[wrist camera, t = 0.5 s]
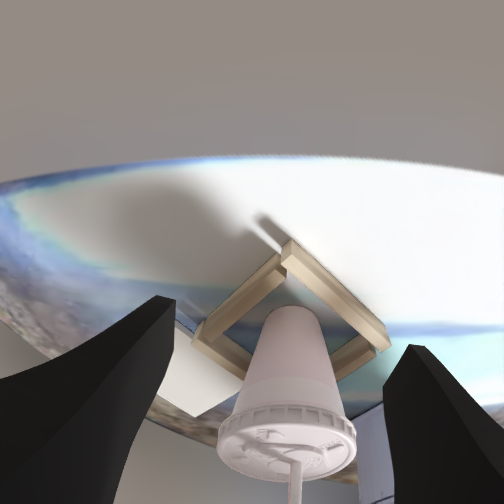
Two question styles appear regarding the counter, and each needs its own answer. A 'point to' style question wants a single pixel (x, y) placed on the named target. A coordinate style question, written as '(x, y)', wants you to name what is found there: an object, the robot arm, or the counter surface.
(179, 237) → the counter surface
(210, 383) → the coaster pad
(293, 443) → the smoothie
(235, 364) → the collar
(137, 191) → the counter surface
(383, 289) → the counter surface
